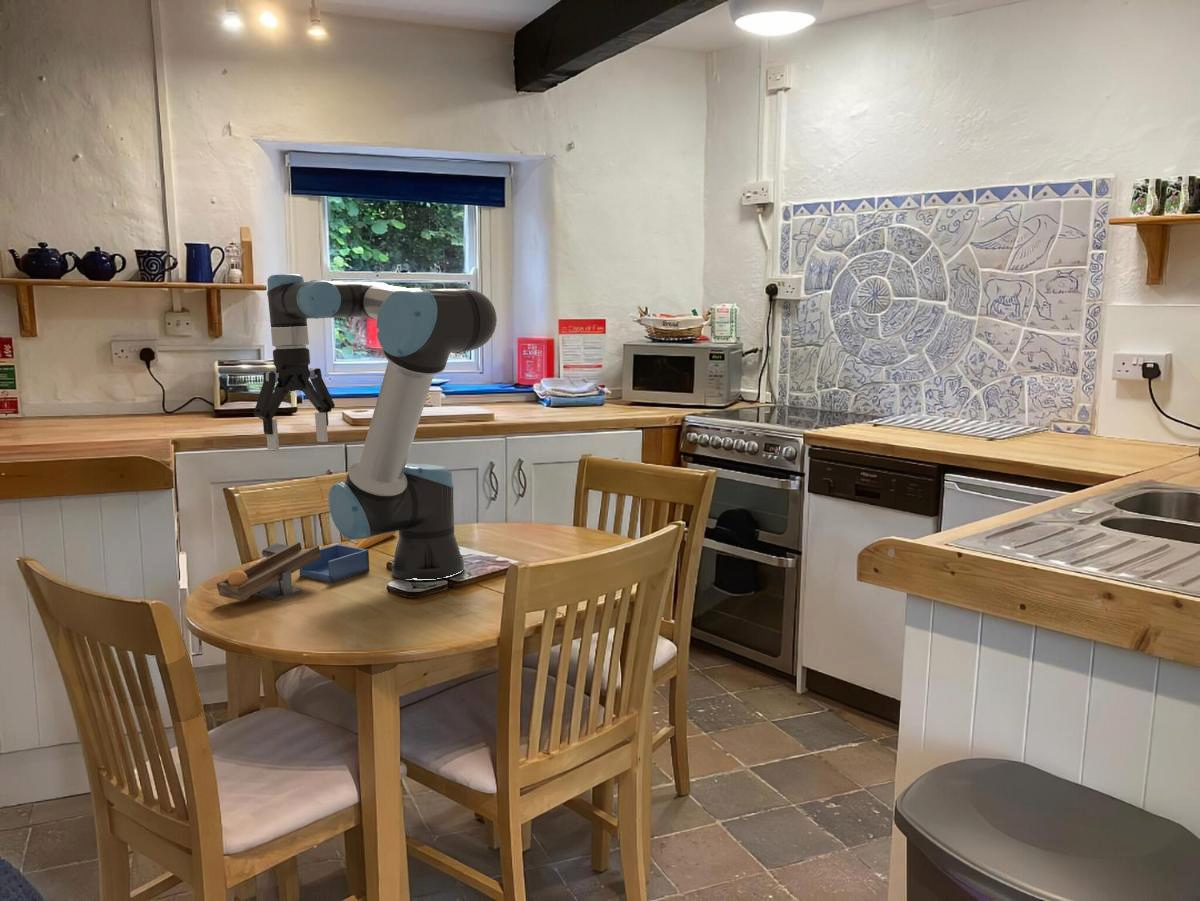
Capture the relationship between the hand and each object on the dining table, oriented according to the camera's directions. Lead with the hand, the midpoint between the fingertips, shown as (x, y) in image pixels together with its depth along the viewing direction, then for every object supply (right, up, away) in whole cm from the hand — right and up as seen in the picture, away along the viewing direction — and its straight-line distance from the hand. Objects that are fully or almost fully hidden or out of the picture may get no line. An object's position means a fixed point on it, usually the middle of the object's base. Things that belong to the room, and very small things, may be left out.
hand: (298, 445), depth 206 cm
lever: (-2, -26, -17) cm, 31 cm away
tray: (+9, -27, -5) cm, 29 cm away
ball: (-4, -26, -25) cm, 36 cm away
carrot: (+11, -24, +19) cm, 32 cm away
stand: (+1, -29, -18) cm, 35 cm away
